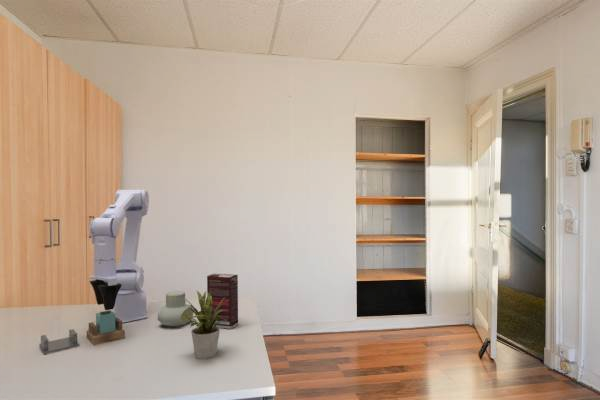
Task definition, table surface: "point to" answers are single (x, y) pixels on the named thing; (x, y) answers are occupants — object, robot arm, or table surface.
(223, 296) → the supplement box
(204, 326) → the house plant
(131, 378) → the table surface
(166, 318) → the air freshener
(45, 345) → the lower dock
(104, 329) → the plug
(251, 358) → the table surface
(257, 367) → the table surface
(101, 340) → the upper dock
